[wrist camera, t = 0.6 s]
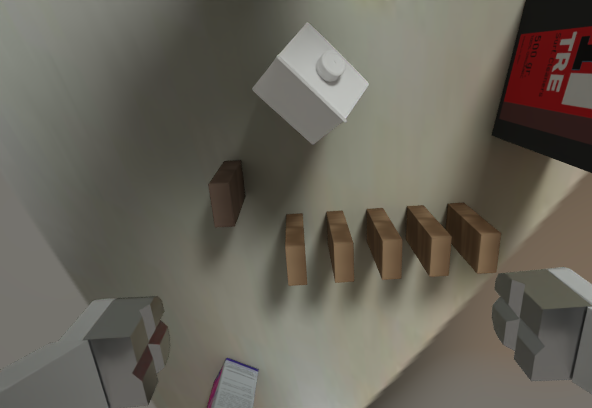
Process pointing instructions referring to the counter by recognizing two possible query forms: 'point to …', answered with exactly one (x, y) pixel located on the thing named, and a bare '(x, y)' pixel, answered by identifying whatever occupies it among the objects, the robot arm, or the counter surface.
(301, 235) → the tile
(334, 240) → the tile
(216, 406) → the supplement box
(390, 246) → the tile
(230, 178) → the tile
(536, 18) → the cleaning product box
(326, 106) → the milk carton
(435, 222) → the tile
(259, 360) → the counter surface
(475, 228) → the tile
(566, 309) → the robot arm
